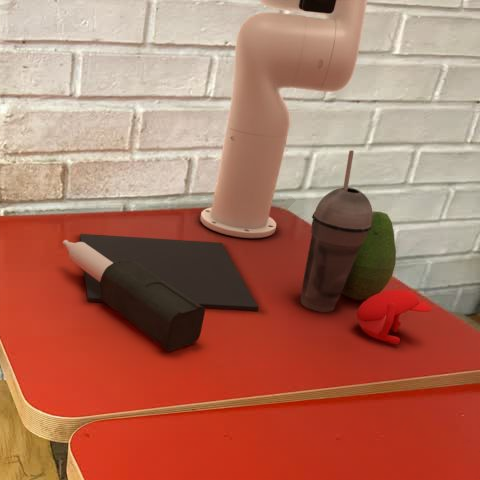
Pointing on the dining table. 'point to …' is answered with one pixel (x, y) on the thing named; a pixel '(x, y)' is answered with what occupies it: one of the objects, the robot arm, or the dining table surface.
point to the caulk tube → (142, 298)
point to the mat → (178, 268)
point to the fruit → (373, 260)
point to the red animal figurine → (387, 313)
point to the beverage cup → (334, 244)
